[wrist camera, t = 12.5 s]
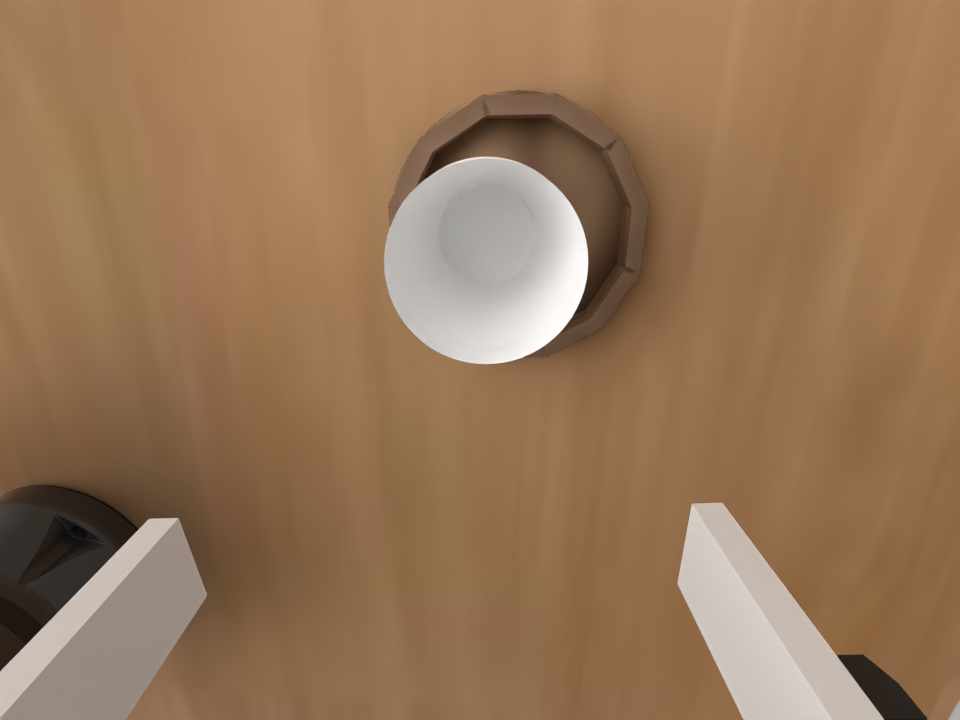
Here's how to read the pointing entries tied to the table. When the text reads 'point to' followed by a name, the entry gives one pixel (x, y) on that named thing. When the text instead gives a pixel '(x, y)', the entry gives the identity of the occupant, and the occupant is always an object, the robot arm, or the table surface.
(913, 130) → the table surface
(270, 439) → the table surface
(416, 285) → the cup
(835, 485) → the table surface
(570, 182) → the round tray
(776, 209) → the table surface
